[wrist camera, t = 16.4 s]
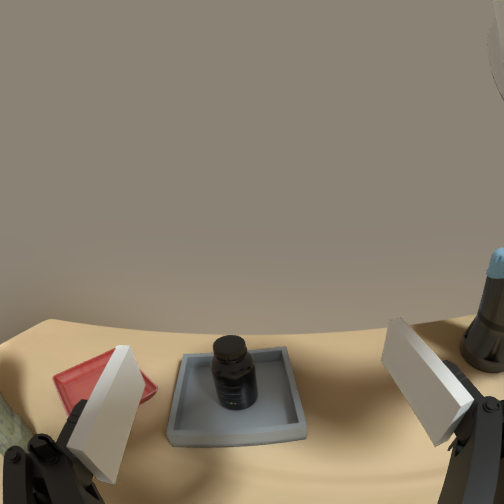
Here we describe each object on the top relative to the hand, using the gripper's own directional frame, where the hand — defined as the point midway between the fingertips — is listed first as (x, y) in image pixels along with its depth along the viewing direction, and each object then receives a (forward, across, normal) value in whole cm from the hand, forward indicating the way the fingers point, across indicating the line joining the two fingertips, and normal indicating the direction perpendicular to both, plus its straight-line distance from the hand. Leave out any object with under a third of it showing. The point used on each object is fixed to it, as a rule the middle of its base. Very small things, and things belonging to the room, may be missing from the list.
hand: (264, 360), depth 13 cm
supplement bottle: (+23, -4, -27) cm, 36 cm away
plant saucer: (+24, -30, -29) cm, 48 cm away
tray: (+23, -4, -28) cm, 36 cm away
